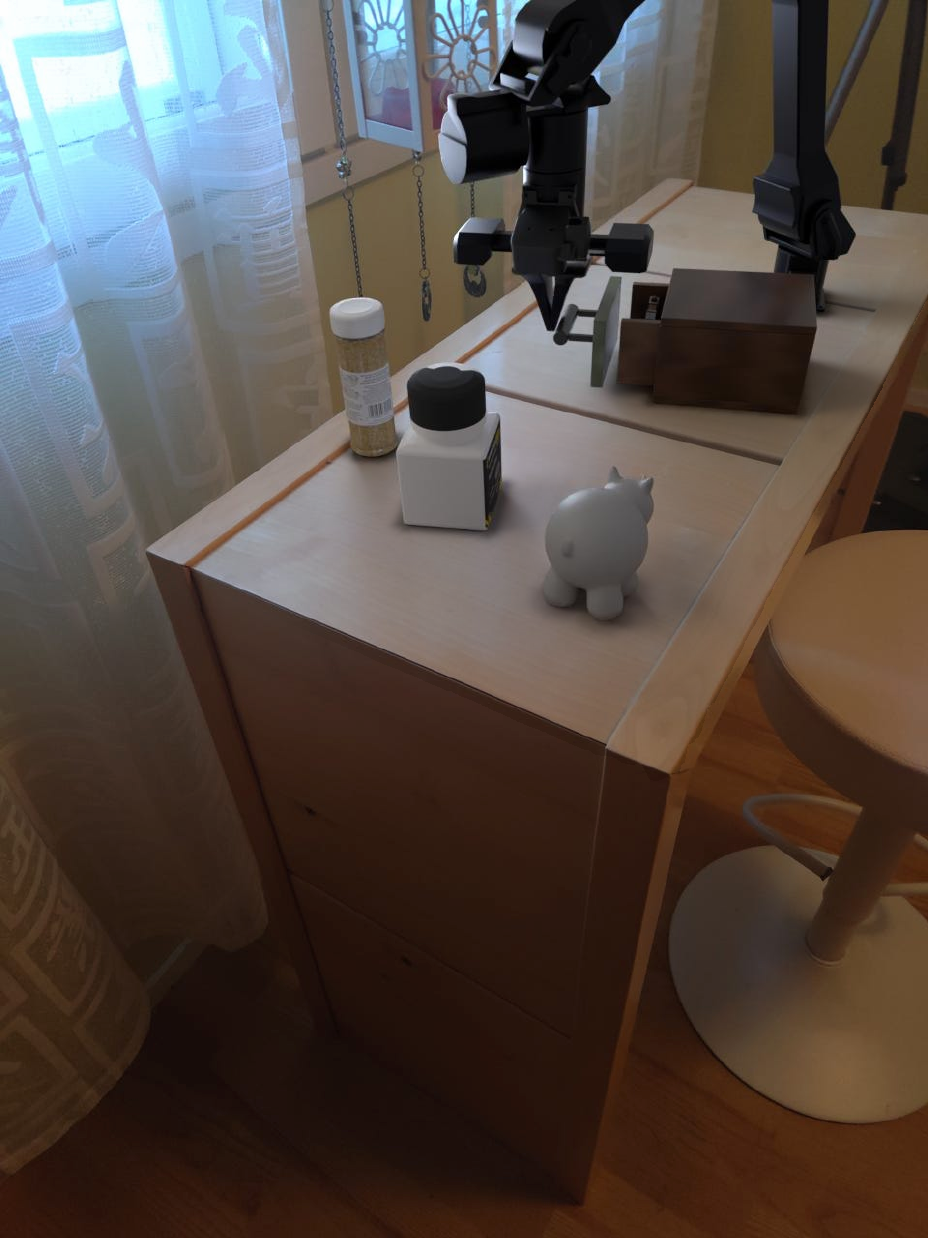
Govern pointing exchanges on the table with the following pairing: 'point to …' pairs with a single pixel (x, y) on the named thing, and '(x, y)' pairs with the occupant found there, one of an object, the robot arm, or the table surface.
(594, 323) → the drawer
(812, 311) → the cabinet
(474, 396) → the medicine bottle
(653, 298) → the wooden post with brackets
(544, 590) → the chubby cartoon animal
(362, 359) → the sprinkles bottle
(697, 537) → the table surface
